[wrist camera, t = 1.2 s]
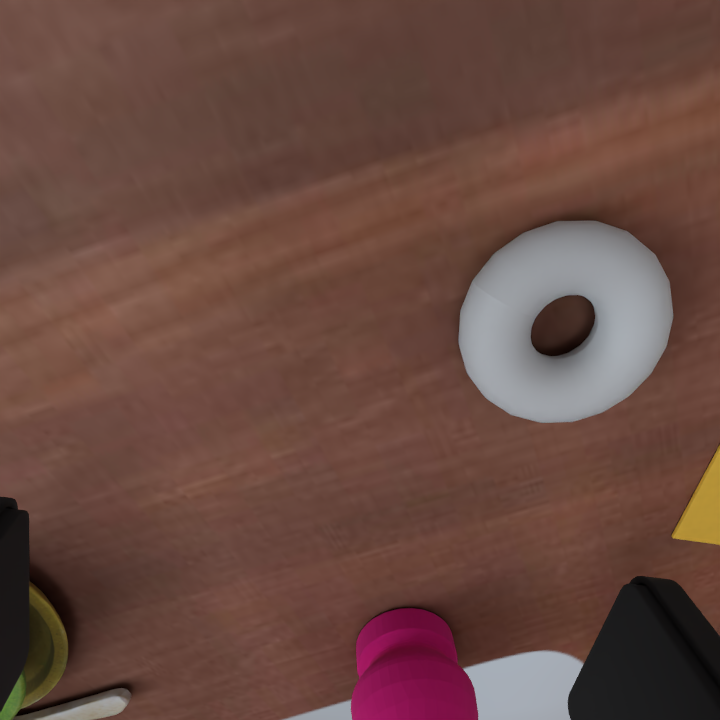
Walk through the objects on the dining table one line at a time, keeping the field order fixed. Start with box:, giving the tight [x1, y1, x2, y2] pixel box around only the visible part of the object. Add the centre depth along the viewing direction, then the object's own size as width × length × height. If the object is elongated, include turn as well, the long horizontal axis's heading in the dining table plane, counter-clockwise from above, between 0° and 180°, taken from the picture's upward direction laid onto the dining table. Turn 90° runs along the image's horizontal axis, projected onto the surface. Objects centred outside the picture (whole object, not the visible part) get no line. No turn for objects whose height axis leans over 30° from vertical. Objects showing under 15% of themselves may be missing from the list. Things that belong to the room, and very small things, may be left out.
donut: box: [458, 221, 673, 423], centre depth 27 cm, size 10×4×10 cm
